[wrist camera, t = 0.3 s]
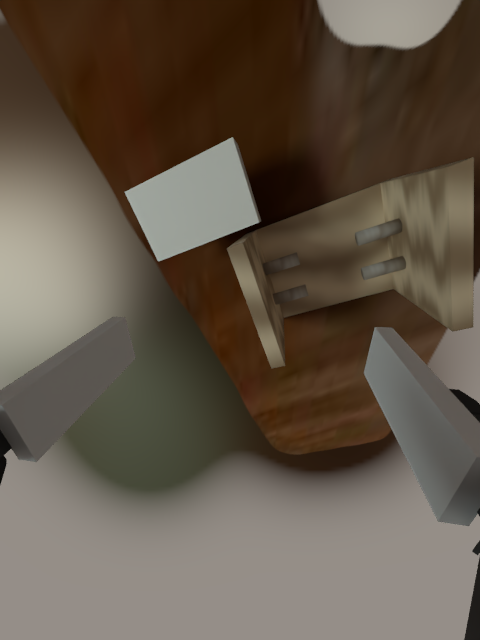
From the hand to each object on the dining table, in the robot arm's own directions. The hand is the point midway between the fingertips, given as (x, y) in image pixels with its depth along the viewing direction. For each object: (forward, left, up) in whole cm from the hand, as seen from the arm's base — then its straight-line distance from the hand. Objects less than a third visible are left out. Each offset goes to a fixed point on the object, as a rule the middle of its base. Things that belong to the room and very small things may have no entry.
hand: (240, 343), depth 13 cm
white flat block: (-9, -5, -20) cm, 22 cm away
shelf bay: (+3, +8, -26) cm, 27 cm away
